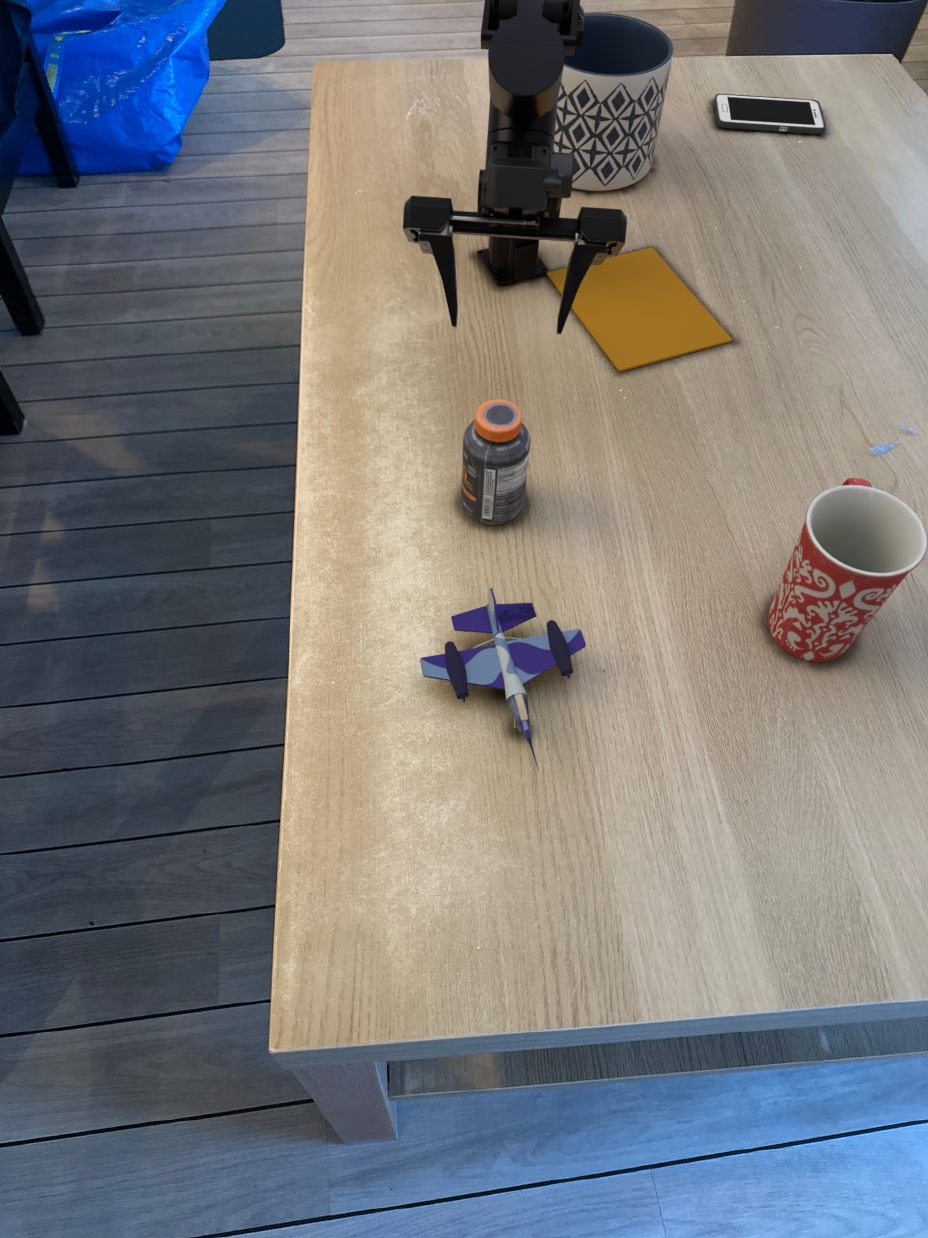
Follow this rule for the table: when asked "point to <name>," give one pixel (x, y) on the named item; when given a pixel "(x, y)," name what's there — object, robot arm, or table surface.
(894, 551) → the mug
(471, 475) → the pill bottle
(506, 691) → the toy airplane
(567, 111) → the planter
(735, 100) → the cell phone
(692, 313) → the cloth
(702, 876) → the table surface
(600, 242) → the robot arm
